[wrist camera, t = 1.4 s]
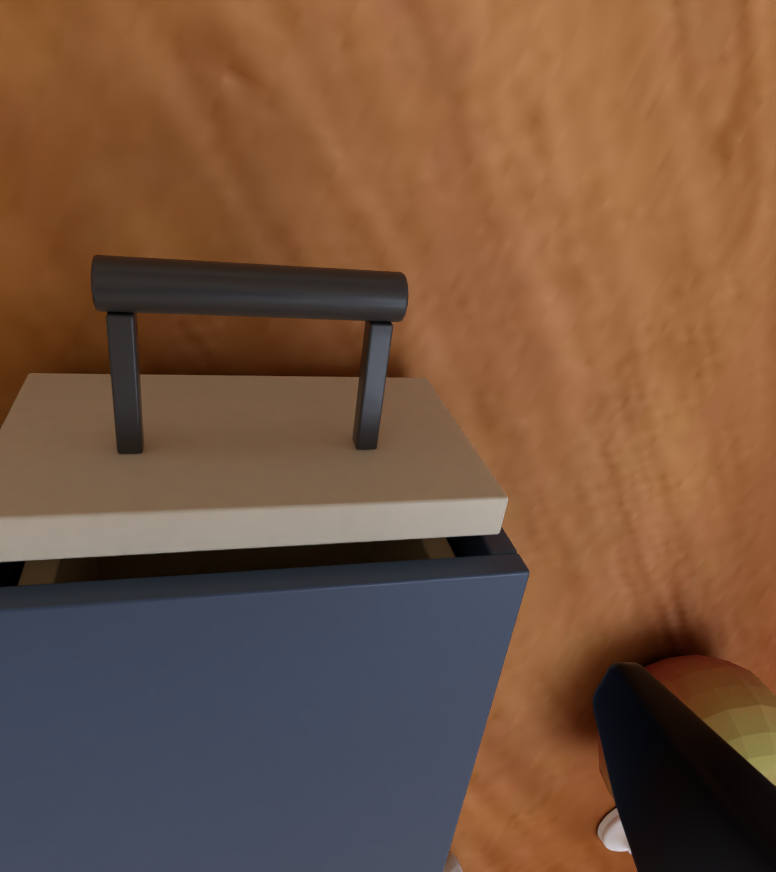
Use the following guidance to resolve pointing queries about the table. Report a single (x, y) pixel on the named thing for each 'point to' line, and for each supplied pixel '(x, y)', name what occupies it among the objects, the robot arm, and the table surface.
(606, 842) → the chess piece
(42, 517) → the drawer
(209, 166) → the table surface
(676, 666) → the apple
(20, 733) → the cabinet
